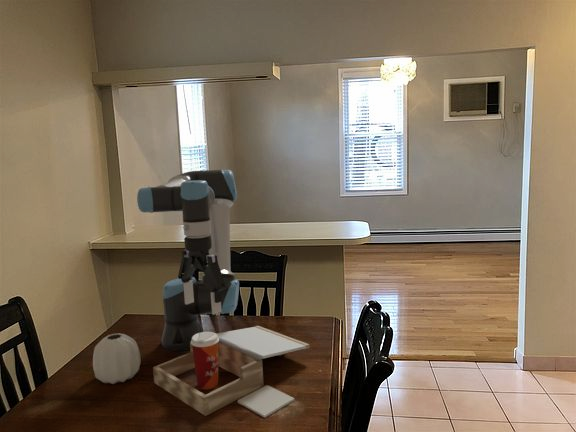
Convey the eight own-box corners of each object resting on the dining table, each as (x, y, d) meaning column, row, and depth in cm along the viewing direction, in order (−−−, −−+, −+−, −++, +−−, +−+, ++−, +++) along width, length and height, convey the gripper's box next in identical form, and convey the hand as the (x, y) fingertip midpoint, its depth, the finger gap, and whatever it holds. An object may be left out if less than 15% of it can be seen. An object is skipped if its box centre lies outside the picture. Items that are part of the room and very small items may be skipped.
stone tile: (237, 402, 127) (237, 400, 127) (267, 386, 135) (267, 384, 135) (264, 417, 120) (264, 415, 119) (294, 400, 127) (294, 398, 127)
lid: (207, 348, 153) (206, 334, 152) (257, 328, 168) (257, 315, 167) (259, 373, 135) (258, 356, 134) (310, 348, 150) (309, 333, 149)
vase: (128, 363, 154) (125, 324, 152) (149, 376, 144) (145, 335, 142) (86, 378, 144) (82, 337, 142) (105, 394, 135) (101, 350, 133)
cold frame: (154, 382, 140) (152, 357, 139) (210, 359, 154) (208, 336, 153) (205, 416, 121) (203, 387, 120) (263, 385, 136) (262, 359, 134)
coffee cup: (216, 392, 133) (212, 342, 131) (189, 390, 135) (185, 341, 132) (225, 378, 141) (222, 331, 139) (200, 376, 143) (197, 330, 140)
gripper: (162, 233, 137) (168, 302, 140) (213, 242, 120) (218, 321, 123) (184, 229, 142) (189, 296, 146) (236, 238, 125) (240, 313, 128)
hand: (202, 308), depth 134 cm, fingers open, 13 cm apart
